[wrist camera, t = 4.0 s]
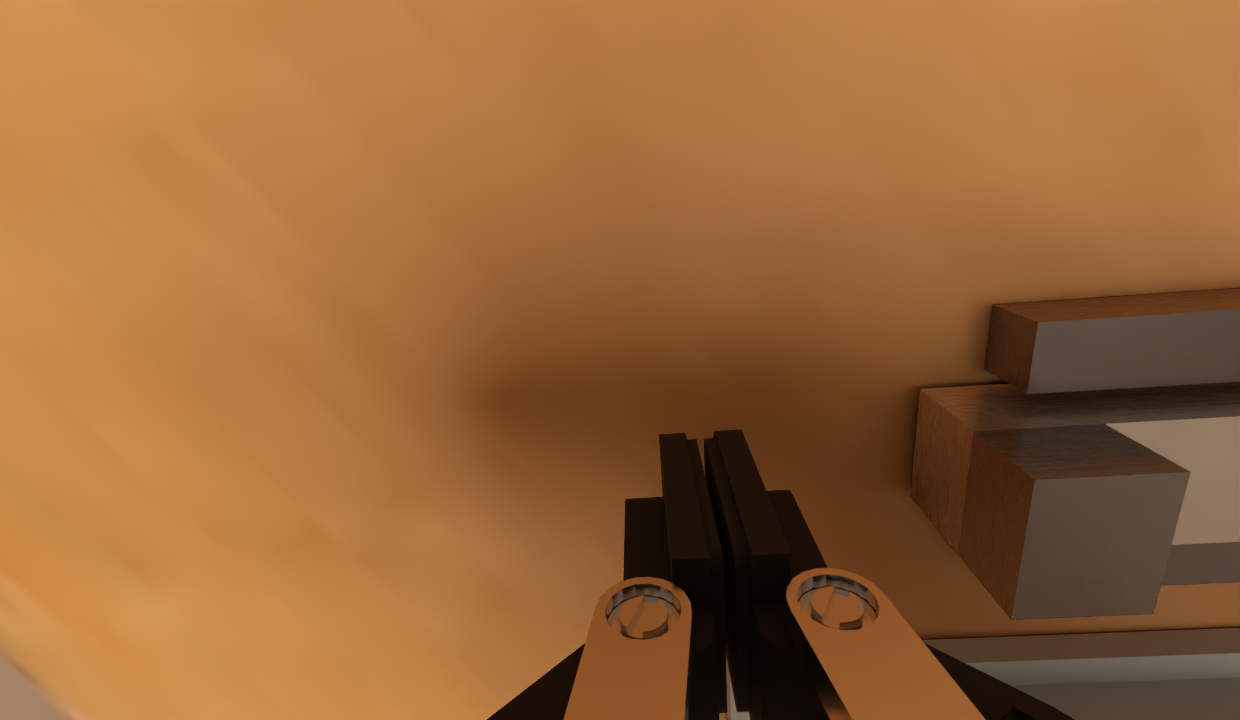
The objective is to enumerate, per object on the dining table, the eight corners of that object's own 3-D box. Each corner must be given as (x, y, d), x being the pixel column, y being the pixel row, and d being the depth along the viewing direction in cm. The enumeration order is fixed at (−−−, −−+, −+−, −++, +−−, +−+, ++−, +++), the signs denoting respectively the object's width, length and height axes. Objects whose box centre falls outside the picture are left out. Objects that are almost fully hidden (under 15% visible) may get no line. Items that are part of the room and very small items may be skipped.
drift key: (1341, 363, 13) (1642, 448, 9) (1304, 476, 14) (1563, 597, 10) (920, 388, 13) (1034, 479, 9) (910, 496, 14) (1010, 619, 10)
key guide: (1382, 278, 12) (1480, 293, 11) (1295, 535, 14) (1367, 576, 13) (993, 304, 13) (1038, 322, 11) (961, 551, 15) (996, 592, 13)
